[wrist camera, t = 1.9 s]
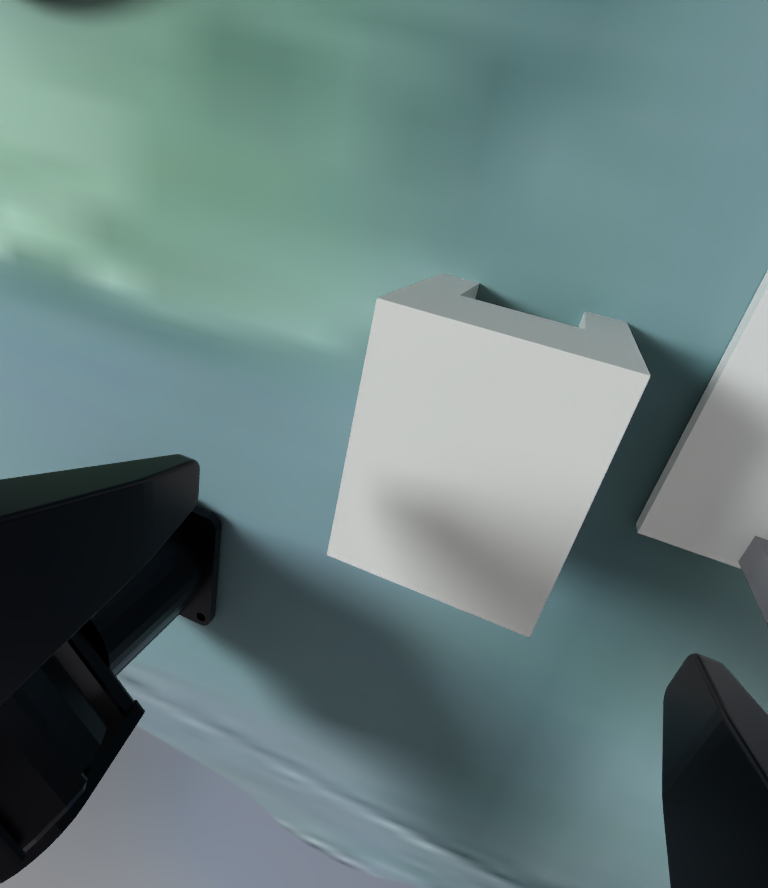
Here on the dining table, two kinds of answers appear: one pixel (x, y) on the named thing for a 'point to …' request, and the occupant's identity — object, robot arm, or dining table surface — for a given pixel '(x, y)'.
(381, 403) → the grey slotted block
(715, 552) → the light grey long base
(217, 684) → the dining table surface
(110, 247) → the dining table surface
